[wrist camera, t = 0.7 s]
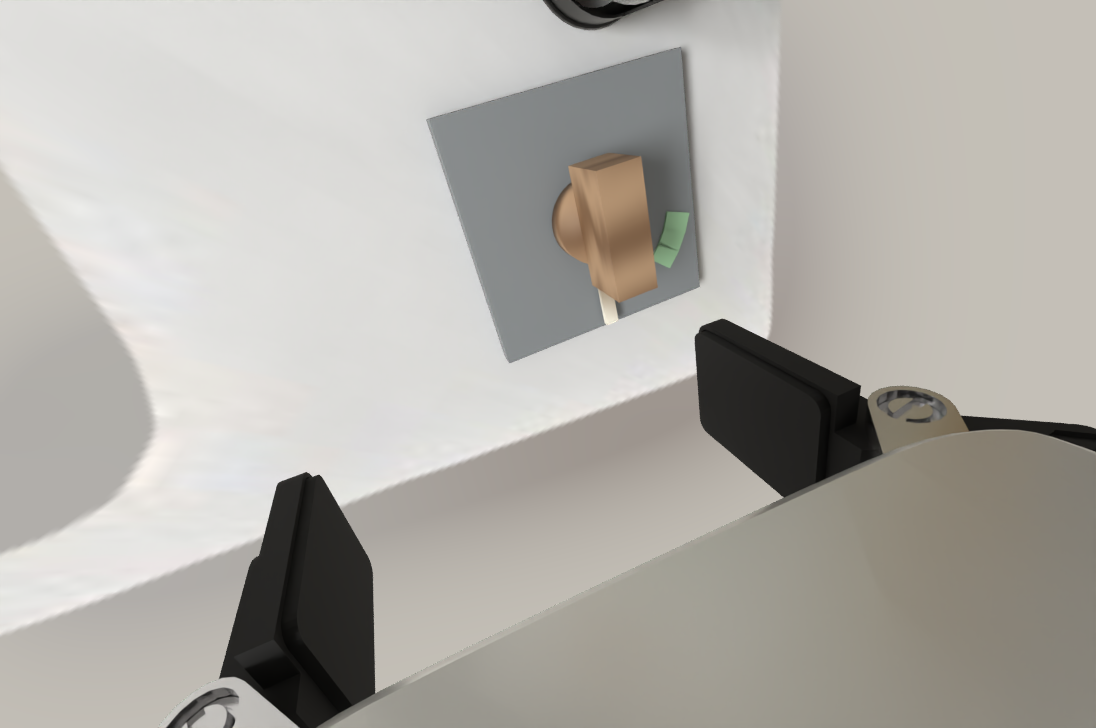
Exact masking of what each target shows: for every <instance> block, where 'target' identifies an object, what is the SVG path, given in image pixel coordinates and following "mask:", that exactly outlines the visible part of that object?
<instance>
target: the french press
mask: <svg viewBox="0 0 1096 728" xmlns="http://www.w3.org/2000/svg"><path fill="white" fill-rule="evenodd" d="M543 1H544V2H545V4H546V5H547V6H548V7H549V9H550V10H551V11H552V12H553V13H554V14H555V15H556V16H557V17H558V18H560V19H561V20H562V21H563V22H565V23H567V24H569V25H571V26H573V27H576V28H580V29H584V30H596V29H599V28H603V27H607V26H609V25H610V24H612V23H614V22H616V21H618V20H619V19H620V18H621V17H622V16H625V15H628V14H630V13H633V12H635V11H638V10H640V9H643V8H645V7H648V6H650V5H653V4H655V3H658V2H660V1H663V0H612V2H610V3H609V4H607V5H605V6H603V7H599V8H587V7H583V6H581V5H580V4H579V3H578V2H577V1H576V0H543Z"/></svg>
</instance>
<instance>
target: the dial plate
mask: <svg viewBox="0 0 1096 728" xmlns="http://www.w3.org/2000/svg"><path fill="white" fill-rule="evenodd" d="M427 123H428V126H429V129H430V132H431V135H432V138H433V141H434V144H435V147H436V150H437V153H438V156H439V159H440V162H441V165H442V168H443V171H444V174H445V177H446V180H447V183H448V186H449V189H450V192H451V195H452V198H453V201H454V204H455V207H456V210H457V213H458V216H459V219H460V222H461V226H462V229H463V232H464V235H465V238H466V241H467V244H468V247H469V250H470V253H471V256H472V259H473V262H474V265H475V268H476V271H477V274H478V277H479V280H480V283H481V286H482V289H483V292H484V295H485V298H486V301H487V304H488V307H489V310H490V313H491V316H492V319H493V322H494V325H495V328H496V331H497V334H498V337H499V340H500V343H501V346H502V349H503V352H504V355H505V357H506V359H507V360H508V362H509V363H512V362H514V361H517V360H519V359H522V358H524V357H527V356H529V355H532V354H534V353H537V352H539V351H542V350H544V349H547V348H549V347H551V346H554V345H556V344H559V343H561V342H564V341H566V340H569V339H571V338H574V337H576V336H579V335H581V334H584V333H586V332H589V331H591V330H594V329H596V328H599V327H601V326H604V325H606V324H605V322H604V317H603V312H602V307H601V302H600V297H599V292H598V288H596V287H595V286H593V285H592V281H591V276H590V271H589V266H588V264H587V263H583V262H581V261H579V260H577V259H576V258H574V257H572V256H571V255H569V254H567V253H566V252H565V251H564V250H563V249H562V248H561V247H560V246H559V244H558V243H557V241H556V239H555V237H554V233H553V229H552V213H553V209H554V205H555V203H556V200H557V198H558V197H559V195H560V193H561V192H562V191H563V189H564V188H565V187H566V186H567V185H568V184H570V183H571V178H570V173H569V168H568V166H569V165H572V164H576V163H579V162H582V161H585V160H588V159H591V158H594V157H597V156H600V155H603V154H606V153H615V154H625V155H634V156H641V159H642V167H643V175H644V183H645V191H646V199H647V207H648V214H649V222H650V230H651V238H652V246H653V254H654V261H655V269H656V277H657V285H658V288H655V289H653V290H650V291H648V292H645V293H643V294H640V295H638V296H635V297H633V298H630V299H628V300H625V301H622V302H620V303H619V302H617V301H616V300H615V304H616V309H617V315H618V320H619V319H621V318H624V317H626V316H629V315H631V314H634V313H636V312H638V311H641V310H643V309H646V308H648V307H651V306H653V305H656V304H658V303H661V302H663V301H666V300H668V299H671V298H673V297H676V296H678V295H681V294H683V293H686V292H688V291H691V290H693V289H696V288H698V287H700V285H699V272H698V259H697V247H696V234H695V221H694V208H693V196H692V183H691V170H690V157H689V145H688V132H687V119H686V106H685V93H684V81H683V68H682V55H681V47H679V48H675V49H671V50H667V51H664V52H660V53H657V54H653V55H650V56H646V57H643V58H639V59H636V60H632V61H629V62H625V63H622V64H618V65H615V66H611V67H608V68H604V69H601V70H597V71H594V72H591V73H587V74H584V75H580V76H577V77H573V78H570V79H566V80H563V81H559V82H556V83H552V84H549V85H545V86H542V87H538V88H535V89H531V90H528V91H524V92H521V93H517V94H514V95H511V96H507V97H504V98H500V99H497V100H493V101H490V102H486V103H483V104H479V105H476V106H472V107H469V108H465V109H462V110H458V111H455V112H451V113H448V114H444V115H441V116H438V117H434V118H431V119H427Z"/></svg>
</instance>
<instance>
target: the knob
mask: <svg viewBox="0 0 1096 728" xmlns="http://www.w3.org/2000/svg"><path fill="white" fill-rule="evenodd" d="M568 168H569V173H570V178H571V183H570V184H568V185H567V186H566V187H565V188H564V189H563V191H562V192H561V193H560V195H559V197H558V198H557V200H556V203H555V205H554V209H553V213H552V229H553V233H554V237H555V239H556V241H557V243H558V244H559V246H560V247H561V248H562V249H563V250H564V251H565V252H566V253H567V254H569V255H571V256H572V257H574V258H576V259H577V260H579V261H581V262H583V263H587V264H588V266H589V271H590V276H591V281H592V285H593V286H595V287H596V288H598V292H599V297H600V302H601V307H602V312H603V317H604V322H605V324H607V325H609V324H612V323H614V322H617V321H618V315H617V309H616V304H615V300H616V301H617V302H619V303H620V302H622V301H625V300H628V299H630V298H633V297H635V296H638V295H640V294H643V293H645V292H648V291H650V290H653V289H655V288H658V285H657V277H656V269H655V261H654V254H653V246H652V238H651V230H650V222H649V214H648V207H647V199H646V191H645V183H644V175H643V167H642V159H641V156H634V155H625V154H615V153H606V154H603V155H600V156H597V157H594V158H591V159H588V160H585V161H582V162H579V163H576V164H572V165H569V166H568Z"/></svg>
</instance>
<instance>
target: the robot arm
mask: <svg viewBox="0 0 1096 728" xmlns="http://www.w3.org/2000/svg"><path fill="white" fill-rule="evenodd" d="M695 351H696V366H697V380H698V395H699V409H700V421H701V424H702V426H703V428H704V430H705V431H706V432H707V433H708V434H710V436H712V437H713V438H714V439H715V440H716V441H718V442H719V443H720V444H721V445H722V446H724V447H725V448H726V449H727V450H728V451H730V452H731V453H732V454H733V455H734V456H735V457H737V458H738V459H739V460H740V461H741V462H743V463H744V464H745V465H746V466H747V467H748V468H750V469H751V470H752V471H753V472H754V473H756V474H757V475H758V476H759V477H760V478H762V479H763V480H764V481H765V482H766V483H767V484H769V485H770V486H771V487H772V488H773V489H775V490H776V491H777V492H778V493H779V494H780V495H781V496H783V497H784V498H782V499H780V500H778V501H776V502H774V503H772V504H770V505H767V506H765V507H763V508H761V509H759V510H757V511H754V512H752V513H750V514H748V515H746V516H744V517H742V518H740V519H737V520H735V521H733V522H731V523H729V524H726V525H724V526H722V527H720V528H718V529H716V530H714V531H711V532H709V533H707V534H705V535H703V536H701V537H699V538H697V539H695V540H693V541H690V542H688V543H686V544H684V545H682V546H680V547H677V548H675V549H673V550H671V551H669V552H667V553H665V554H663V555H660V556H658V557H656V558H654V559H652V560H650V561H648V562H646V563H643V564H641V565H640V566H637V567H635V568H633V569H631V570H629V571H627V572H625V573H622V574H621V575H618V576H616V577H614V578H612V579H610V580H608V581H606V582H603V583H601V584H599V585H597V586H595V587H593V588H591V589H589V590H586V591H585V592H582V593H580V594H578V595H576V596H574V597H572V598H570V599H568V600H566V601H563V602H561V603H559V604H557V605H555V606H553V607H551V608H549V609H547V610H545V611H543V612H540V613H539V614H537V615H534V616H532V617H530V618H528V619H526V620H524V621H522V622H520V623H518V624H515V625H513V626H511V627H509V628H507V629H505V630H503V631H501V632H499V633H497V634H495V635H493V636H490V637H488V638H486V639H484V640H482V641H480V642H478V643H476V644H474V645H472V646H469V647H467V648H465V649H463V650H461V651H459V652H457V653H455V654H453V655H451V656H449V657H447V658H445V659H443V660H441V661H439V662H437V663H435V664H433V665H431V666H429V667H427V668H425V669H423V670H421V671H419V672H417V673H415V674H413V675H411V676H409V677H407V678H405V679H403V680H401V681H399V682H397V683H395V684H393V685H391V686H389V687H387V688H385V689H383V690H381V691H379V692H377V693H376V694H375V661H374V616H373V615H374V612H373V572H372V567H371V563H370V560H369V558H368V556H367V554H366V553H365V551H364V549H363V547H362V545H361V544H360V542H359V540H358V539H357V537H356V535H355V533H354V532H353V530H352V528H351V526H350V525H349V523H348V521H347V520H346V518H345V516H344V514H343V513H342V511H341V509H340V507H339V506H338V504H337V502H336V500H335V499H334V497H333V495H332V494H331V492H330V490H329V488H328V487H327V485H326V483H325V481H324V480H323V478H322V477H321V476H320V475H317V476H314V477H312V476H311V475H310V474H309V473H307V472H305V473H303V474H300V475H297V476H295V477H292V478H289V479H287V480H284V481H281V482H279V483H278V485H277V487H276V491H275V495H274V499H273V503H272V507H271V511H270V515H269V519H268V523H267V527H266V531H265V535H264V539H263V542H262V546H261V551H260V554H259V556H258V557H256V558H255V559H254V560H252V562H251V564H250V567H249V570H248V574H247V577H246V581H245V585H244V588H243V592H242V596H241V599H240V603H239V607H238V610H237V614H236V618H235V622H234V625H233V629H232V633H231V636H230V640H229V644H228V647H227V651H226V655H225V659H224V662H223V666H222V670H221V673H220V677H219V679H218V680H215V681H213V682H210V683H207V684H206V685H204V686H202V687H201V688H199V689H197V690H196V691H194V692H193V693H191V694H190V695H189V696H188V697H186V698H185V699H184V700H183V701H182V702H180V703H179V704H178V705H177V706H176V707H175V708H174V709H173V710H172V711H171V712H170V713H169V715H168V716H167V717H166V718H165V719H164V720H163V721H162V722H161V724H160V725H159V727H158V728H1096V429H1095V428H1092V427H1088V426H1083V425H1077V424H1064V423H1053V422H1040V421H1026V420H1012V419H999V418H986V417H985V418H984V417H972V416H961V415H960V414H959V412H958V410H957V408H956V407H955V405H954V404H953V403H952V402H951V401H950V400H948V399H947V398H945V397H944V396H942V395H940V394H938V393H935V392H933V391H930V390H927V389H922V388H917V387H909V386H890V387H886V388H881V389H879V390H877V391H875V392H873V393H872V394H871V395H870V396H869V398H868V399H866V398H864V397H862V396H860V389H861V386H860V385H858V384H856V383H854V382H852V381H850V380H848V379H846V378H844V377H842V376H840V375H838V374H836V373H834V372H832V371H830V370H828V369H826V368H824V367H822V366H820V365H818V364H816V363H813V362H811V361H809V360H807V359H805V358H803V357H801V356H799V355H797V354H795V353H793V352H791V351H789V350H787V349H785V348H783V347H781V346H779V345H777V344H775V343H772V342H771V341H769V340H766V339H764V338H762V337H760V336H758V335H756V334H754V333H752V332H750V331H748V330H746V329H744V328H742V327H740V326H738V325H736V324H734V323H732V322H730V321H728V320H725V319H720V320H717V321H714V322H711V323H709V324H706V325H703V326H702V327H701V328H700V330H699V333H698V334H696V336H695Z"/></svg>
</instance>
